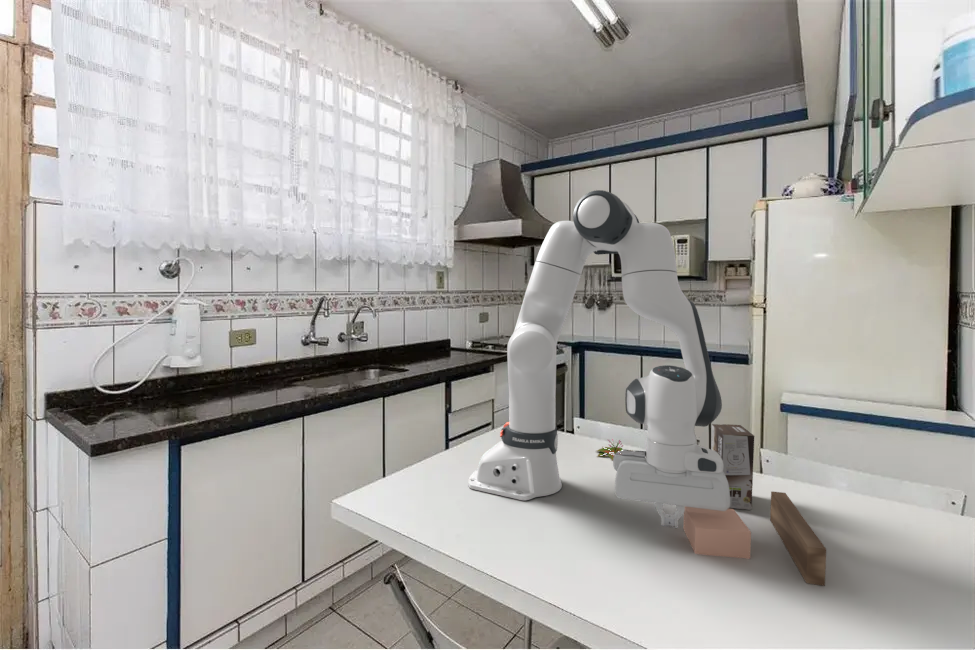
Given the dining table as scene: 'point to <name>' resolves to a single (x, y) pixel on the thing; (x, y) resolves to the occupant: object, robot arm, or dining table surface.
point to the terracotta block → (717, 532)
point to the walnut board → (798, 539)
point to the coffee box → (736, 461)
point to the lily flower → (613, 449)
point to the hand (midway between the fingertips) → (669, 525)
